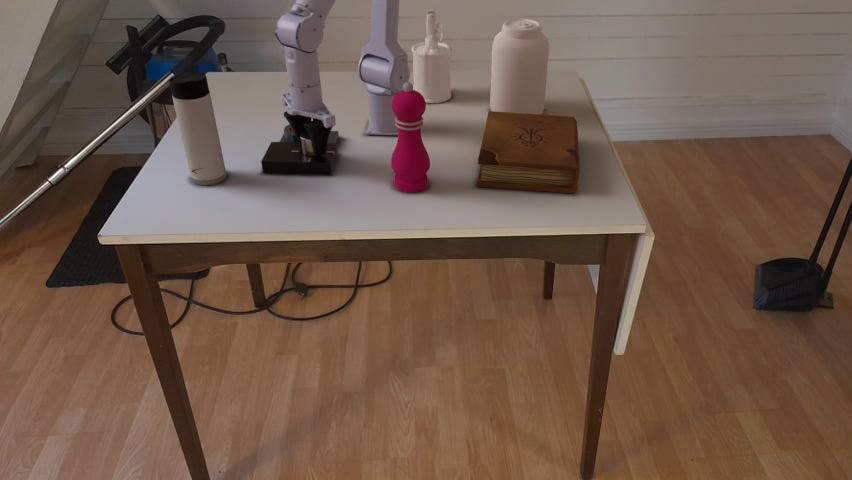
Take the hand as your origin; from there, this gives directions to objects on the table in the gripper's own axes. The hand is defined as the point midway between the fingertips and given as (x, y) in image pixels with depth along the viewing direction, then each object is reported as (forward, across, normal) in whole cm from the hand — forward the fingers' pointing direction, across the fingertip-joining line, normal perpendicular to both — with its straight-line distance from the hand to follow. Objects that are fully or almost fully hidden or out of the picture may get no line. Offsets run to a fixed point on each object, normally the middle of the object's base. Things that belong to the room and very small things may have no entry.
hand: (312, 149), depth 137 cm
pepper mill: (+3, +19, +8) cm, 21 cm away
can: (+3, +9, +50) cm, 50 cm away
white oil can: (+3, -10, +40) cm, 42 cm away
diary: (+3, +28, +32) cm, 43 cm away
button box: (+3, -8, +4) cm, 10 cm away
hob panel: (+3, -2, -2) cm, 4 cm away
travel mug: (+3, -8, -18) cm, 20 cm away
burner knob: (0, 0, 0) cm, 0 cm away
